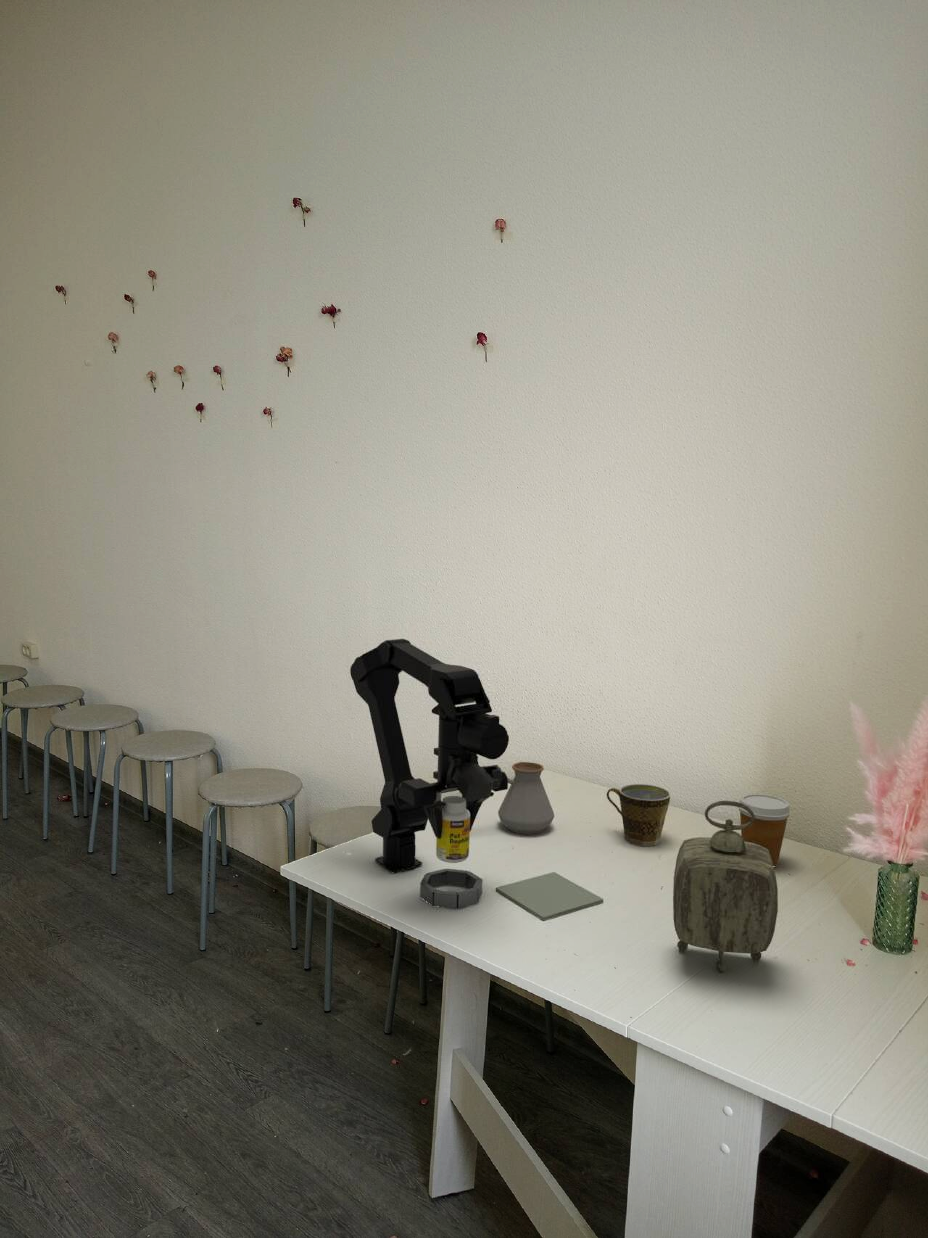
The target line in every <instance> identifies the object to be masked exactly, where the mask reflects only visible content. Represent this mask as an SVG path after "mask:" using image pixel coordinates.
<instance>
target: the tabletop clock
mask: <svg viewBox="0 0 928 1238" xmlns="http://www.w3.org/2000/svg"><path fill="white" fill-rule="evenodd" d="M739 802H740V801H734V800H718V801H715V802H712V803H711V804H709V805H708V806H707V807H706V809H705V811H704V818H705V820H706V821H707V822H708V824H710V825H711V826H714V827H716V828H718V829H720V830H717V831H716V832H714V833H713V834H712V836H711V837H707V836H706V837H703V836H702V837H701V836H699V837H697V836H696V837H692V838H688V839H685V840H683V841H682V844H681V845H680V847H679V849H678V852H677V857H676V860H675V867H674V874H673V885H672V886H673V887H672V888H673V890H672V892H673V893H672V896H673V897H672V904H673V905H672V908H673V909H672V911H673V917H672V918H673V925H674V931H675V933H676V935H677V938H678V940H679V941H677V945H676V947H677V948H678V950H679V951H681V952H684V951H686V950H688V948H689V946H693V947H696V948H700V949H701V948H702V949H706V950H711V951H715V952H718V953H717V954H718V960H717V961H715V963H714V968H715V970H716V971H717V972H719V973H724V972H725V971H726V969H727V964H726V963H725V961H723V960H724V953H733V954H734V953H735V954H750V958H751V959H752V961H756V962H757V961H760V960H761V959H762V952H765V951H767V950H768V949H769V947H770V945H771V943H772V940H773V937H774V935H775V929H776V923H777V917H778V912H779V908H778V906H779V905H778V904H779V900H778V899H779V897H778V895H779V892H778V882H777V876H776V872H775V868H774V867H773V863H772V859H771V856H770V853H769V851H768V849H766V848H764V847H762V846H760V845H757V844H755V843H750V842H745V841H744V839H743V837H742V836H741V833H739V832H737V831H741V829H745V828H748V827H749V826H751V825H752V824H753V822H754V820H755V816H754V813H753V811H752V810H751V809H750V808H749V807H748V806H746V805H744V804H743V803H739ZM719 806H729V807H737V808H738V807H740V808H743V809H745V810H746V811H747V812H749V813H750V815H751V817H752V819H751V821H750V822H749V823H747V824H743V825H741V824H738V825H737V824H734V822H733V819H729V818H728V819H726V820H725V823H721V822H718V821H715V820H713V819H711V818H710V817H709V812H710V811H711V810H712V809H714V808H716V807H719Z"/></svg>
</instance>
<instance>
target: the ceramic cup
mask: <svg viewBox="0 0 928 1238" xmlns="http://www.w3.org/2000/svg"><path fill="white" fill-rule="evenodd" d="M610 792H613V793H615V794H616V795H617V796H618V797H619V804H620V808H619V806H618V805H617V804H616V803H615V802H614V801H613V800H612V799H611V797H610ZM606 798H607V800H608V802H609V803H610V804H611V805H612V806H613V807H614V808H615V809H616V811H617V812H618V813H619V815H620V816H621V818H622V826H623V836H624V839H625V841H627V842H628V843H629V844H631V845H635V846H638V845H639V847H652V846H651V845H655V846H656V845H657V844H659V843H660V841H661V836H662V833H663V828H664V824H665V821H666V815H667V814H668V809H669V805H670V802H671V801H670V800H671V792H669V790H667V789H665V788H663V787H661V786H656V785H651V784H644V783H643V784H642V783H632V784H626V785H623V786H622V787H620V788H619V789H618V788H615V787H612V788H609V789H608V790H607V792H606Z"/></svg>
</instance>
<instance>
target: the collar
mask: <svg viewBox="0 0 928 1238" xmlns="http://www.w3.org/2000/svg"><path fill="white" fill-rule="evenodd" d="M446 885H449V886H456V887H465V888H467V889H464V890H460V891H459V890H458V891H450V890H449V891H448V890H441V889H439V890H438V889H436V888H439V887H443V886H446ZM419 886H420V887H419V897H421V898H420V899H422V898H423V899H424V900H425V901H424V900H423V899H422V900H423V901H424V902H426V901H427V902H428V904H429V903H430V904H431V905H432V906H431V905H430V904H429V905H430V906H431V907H434V906H439V907H438V908H441V907H444V908H443V909H451V910H460V909H464V908H467V907H471V906H475V905H477V904H479V902H480V900H481V898H482V895H483V878H482V877H480V876H478V875H476V874H475V873H473V872H471V871H470V870H466V869H465V870H464V869H463V870H462V869H453V868H441V869H438V870H433V871H430V872H426V873H425V874H424V875H423V877H422V879H421V881H420V883H419ZM427 902H426V903H427Z"/></svg>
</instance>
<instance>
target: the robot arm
mask: <svg viewBox="0 0 928 1238" xmlns="http://www.w3.org/2000/svg"><path fill="white" fill-rule="evenodd" d="M349 672H350V673H349V674H350V678H351V679H352V681H353V685H354V688H355V691H356V692H355V693H357V695H359V697H360V698H361V699H362V700H363V701H364V702H365V703H366V705H367V706H368V709H369V714H370V719H371V724H372V729H373V732H374V737H375V742H376V746H377V747H376V748H377V750H378V755H379V761H380V764H381V769H382V773H383V778H384V785H383V787H382V791H381V794H380V798H379V801H380V803H379V804H380V810H379V811H378V812H377V813H376V814H375V816H374V817H373V818H372V820H371V822H370V823H371V828H372V832H373V833H374V834H376V835H377V836H378V837H381V838H382V856H378V857H375V859H374V860H375V862H377V863H378V864H379V865H380V866H382V867H383V868H385V869H386V870H387V871H389V872H390V873H397V872H402V871H406V870H408V869H414V868H417V867H421V866H423V862H422V861H420V860H419V859H417V858H416V849H417V848H416V846H417V845H416V833H417V832H421V831H422V832H423V831H425V830H426V828H427V825H428V822H429V824H430V826H431V829H432V831H433V834H434V836H435V838H436V839H437V838H438V839H440V838H441V834H442V810H443V808H444V807H445V805H446V803H444V802H442V794H445V793H452V792H456V791H459V793H460V794H461V797H463V798H464V799H465V800H466V809H467V810H469V812H470V832H471V831H472V828H473V825H474V823H475V820H476V818H477V815H478V813H479V810H480V809H481V807H482V804H483V803H484V802H485V801H486V800H488V799H489V798H490V797H493V796H494V795H495V792H500V791H506V790H509V783H508V778H509V777H508V775H507V774H506V772H504V771H502V769H501V767H500V766H499V765H497V764H494V765H487V766H485V765H483V766H480V765H479V756H480V757H483V758H486V759H488V760H496V759H498V758H500V757H502V755H504V754H505V752H506V750H507V748H508V745H509V741H510V736H509V734H508V730H507V729H506V727H504V725H502V724H500V716H499V715H496V714H490V713H492V711H493V709H492V706H491V703H490V702H491V701H490V699H489V697H488V696H487V693H486V691H485V688H484V686H483V684H482V681H481V679H480V677H479V674H478V673H477V671H476V670H474V669H473V668H469V667H466V666H463V665H459V664H458V665H457V664H449V663H445V662H442V661H440V660H439V659H438V658H436V657H434V656H432V655H431V654H429V653H428V652H425V651H423V650H422V649H421V648H419V647H417V646H415V645H414V644H412V643H411V641H409V639H405V638H398V639H397V638H396V639H386V640H384V641H382V642H380V643H379V645H377V646H376V647H374V648H373V649H371V650H369V651H367V652H365V653H363V654H361V655H360V656H357V657H356V658H355V659H354V661H353V663H352V664H351V666H350V668H349ZM402 672H404V673H406V674H407V675H408V676H410V677H412V678H414V679H415V680H417V681H418V682H420V683H421V684H423V685H424V686H425V687H426V688H427V691H428V692H427V693H428V695H429V696H430V697H431V698H432V699H433V700H434V701H435V702H436V703H437V705H435V706H434V707H433V708H432V709H431V713H432V714H434V715H437V716H438V741H437V745H438V746H437V747H434V748H433V755H434V756H437V770H436V771H433V773H432V774H433V775H432V778H433V779H435V780H437V781H436V782H431V783H430V782H428V781H426V780H424V779H422V778H415V777H414V776H413V774H412V771H411V768H410V767H411V766H410V761H409V757H408V752H407V748H406V744H405V739H404V736H403V732H402V726H401V723H400V722H401V721H400V716H399V713H398V712H399V711H398V709H397V704H396V698H395V697H396V695H397V691H398V689H399V685H400V677H399V675H400V674H401V673H402Z"/></svg>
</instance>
